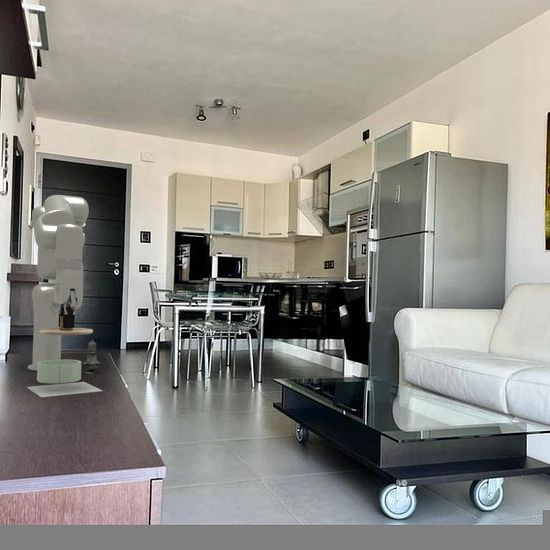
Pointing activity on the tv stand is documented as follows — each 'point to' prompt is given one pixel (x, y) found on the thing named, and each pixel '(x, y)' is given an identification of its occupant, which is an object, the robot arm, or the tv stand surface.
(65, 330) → the lid
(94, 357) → the salt shaker
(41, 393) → the mat
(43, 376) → the bowl
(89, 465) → the tv stand surface
